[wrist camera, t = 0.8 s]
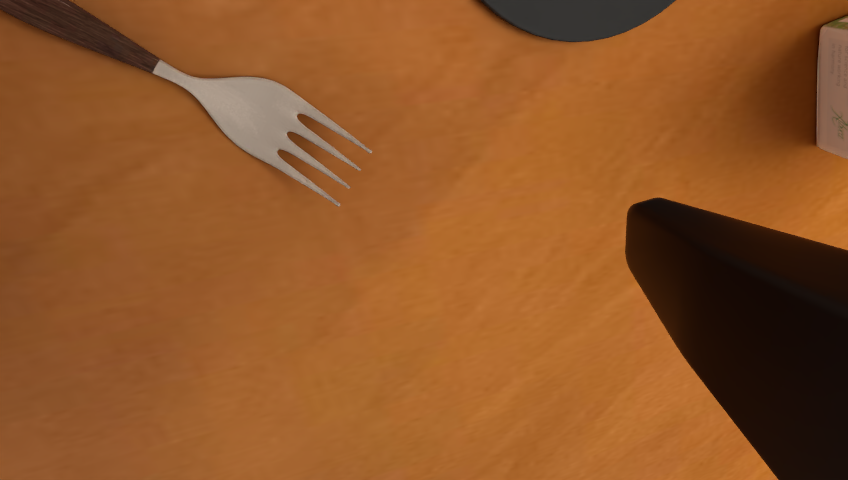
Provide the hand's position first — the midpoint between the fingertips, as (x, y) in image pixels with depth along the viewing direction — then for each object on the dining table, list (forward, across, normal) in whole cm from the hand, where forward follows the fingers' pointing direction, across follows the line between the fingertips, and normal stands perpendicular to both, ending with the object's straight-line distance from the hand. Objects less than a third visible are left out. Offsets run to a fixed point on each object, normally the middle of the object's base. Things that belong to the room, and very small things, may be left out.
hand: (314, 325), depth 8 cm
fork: (+15, +4, 0) cm, 15 cm away
